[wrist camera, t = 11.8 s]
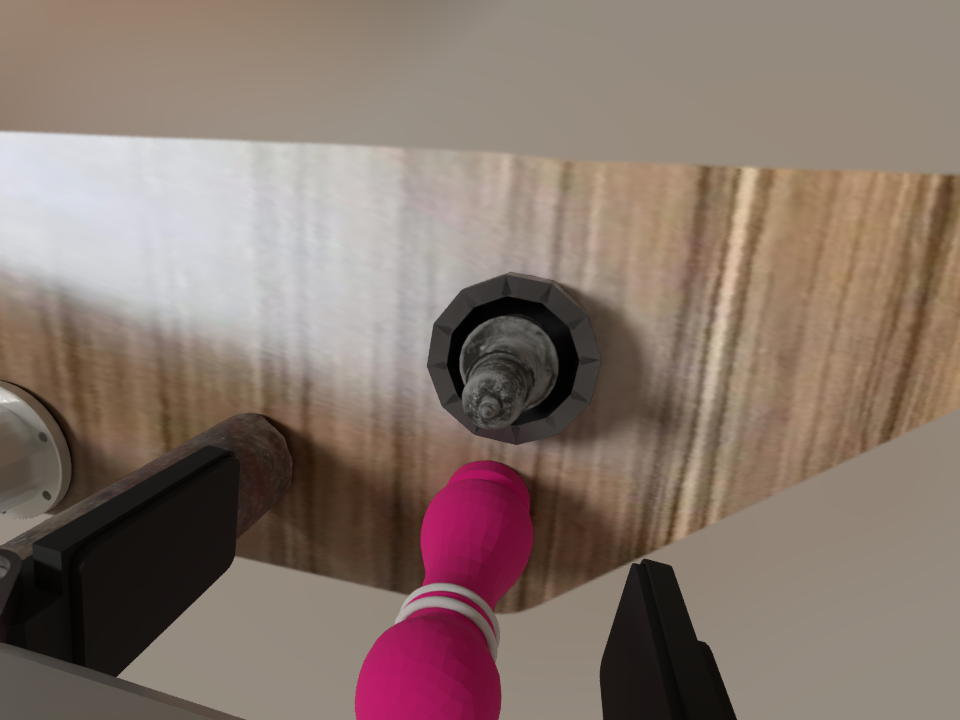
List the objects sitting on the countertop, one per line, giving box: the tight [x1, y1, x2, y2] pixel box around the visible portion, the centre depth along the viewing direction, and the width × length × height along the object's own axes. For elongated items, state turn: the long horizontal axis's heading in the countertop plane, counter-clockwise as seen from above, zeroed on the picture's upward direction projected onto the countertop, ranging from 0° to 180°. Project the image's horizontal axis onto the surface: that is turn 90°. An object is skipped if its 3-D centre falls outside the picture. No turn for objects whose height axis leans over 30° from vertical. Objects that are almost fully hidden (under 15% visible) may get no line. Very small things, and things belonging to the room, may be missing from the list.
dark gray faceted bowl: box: [427, 272, 601, 445], centre depth 30 cm, size 10×10×4 cm
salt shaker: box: [460, 314, 559, 430], centre depth 26 cm, size 6×6×12 cm
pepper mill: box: [355, 461, 534, 720], centre depth 25 cm, size 7×7×20 cm
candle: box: [0, 413, 293, 560], centre depth 28 cm, size 8×7×20 cm
